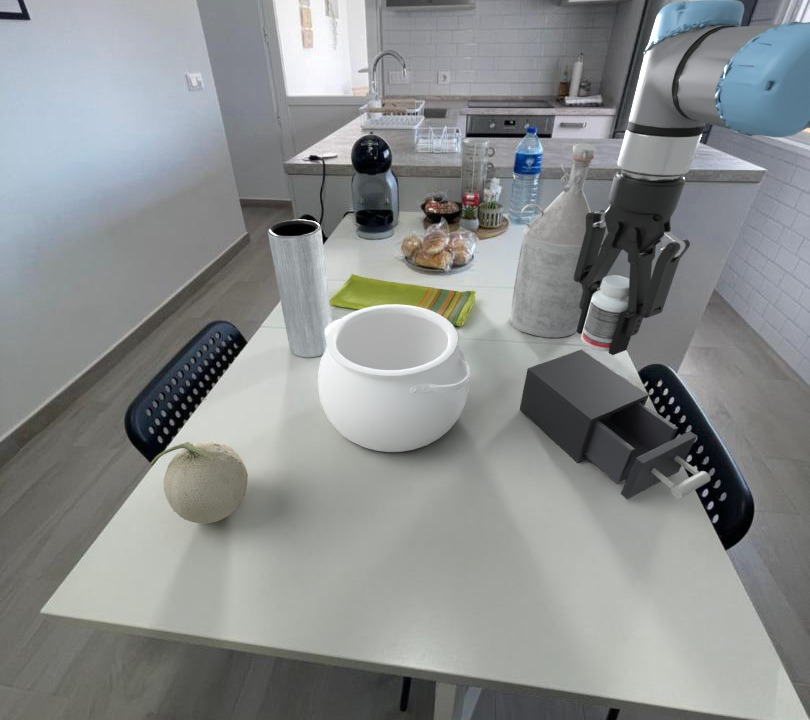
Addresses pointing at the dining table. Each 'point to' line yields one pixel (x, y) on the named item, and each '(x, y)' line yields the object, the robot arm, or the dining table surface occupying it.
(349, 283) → the dish towel
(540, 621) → the dining table surface
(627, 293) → the pill bottle
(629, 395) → the grey drawer box
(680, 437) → the pulled-out drawer
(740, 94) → the robot arm
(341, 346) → the pot
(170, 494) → the fruit
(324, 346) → the vase
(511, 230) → the dining table surface
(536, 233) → the grey jug
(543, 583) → the dining table surface
